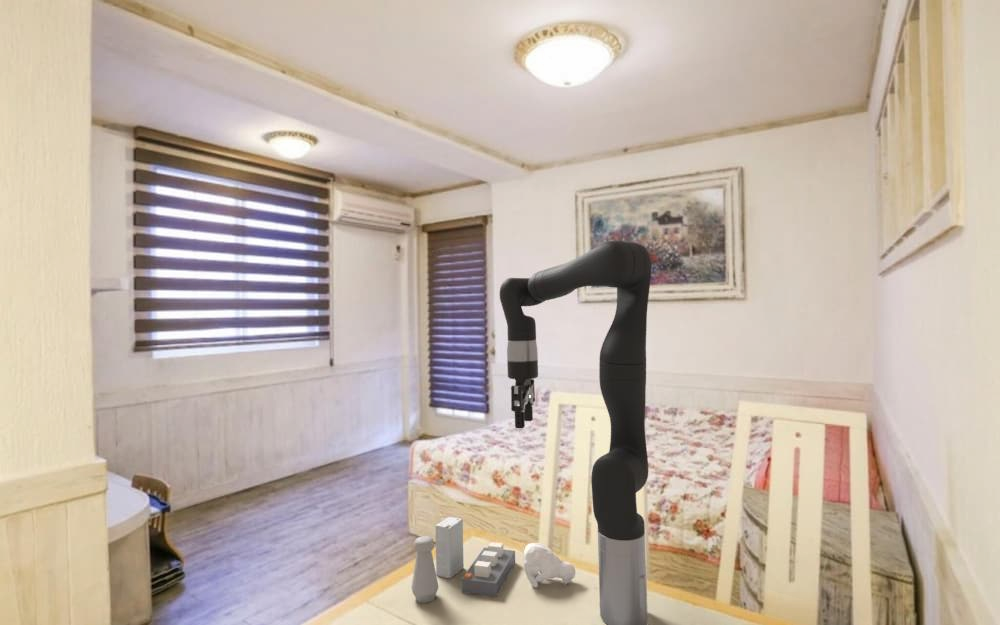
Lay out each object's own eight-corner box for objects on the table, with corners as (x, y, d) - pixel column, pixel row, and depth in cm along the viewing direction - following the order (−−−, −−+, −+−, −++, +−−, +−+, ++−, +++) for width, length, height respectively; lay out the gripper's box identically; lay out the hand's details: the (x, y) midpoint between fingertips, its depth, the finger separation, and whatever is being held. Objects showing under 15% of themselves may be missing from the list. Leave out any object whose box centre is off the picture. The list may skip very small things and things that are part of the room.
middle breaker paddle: (497, 562, 123) (497, 552, 123) (494, 566, 121) (494, 556, 121) (484, 560, 124) (484, 550, 124) (481, 565, 122) (481, 554, 122)
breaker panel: (515, 562, 129) (514, 541, 129) (496, 597, 114) (495, 572, 114) (484, 559, 132) (483, 537, 132) (461, 592, 116) (461, 568, 116)
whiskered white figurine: (525, 537, 124) (576, 543, 122) (523, 572, 124) (574, 580, 122) (522, 549, 117) (576, 556, 116) (520, 586, 118) (574, 594, 116)
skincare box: (449, 564, 129) (448, 515, 129) (464, 568, 127) (463, 518, 127) (435, 576, 124) (433, 524, 124) (451, 580, 122) (449, 527, 122)
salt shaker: (433, 606, 111) (431, 545, 111) (408, 604, 112) (406, 543, 112) (442, 592, 117) (440, 533, 117) (417, 590, 118) (416, 532, 118)
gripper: (530, 361, 122) (532, 431, 122) (543, 356, 135) (545, 419, 135) (499, 361, 124) (501, 430, 124) (515, 356, 137) (516, 418, 137)
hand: (524, 424), depth 129 cm, fingers open, 8 cm apart
